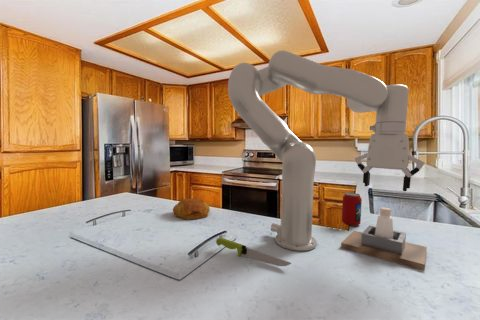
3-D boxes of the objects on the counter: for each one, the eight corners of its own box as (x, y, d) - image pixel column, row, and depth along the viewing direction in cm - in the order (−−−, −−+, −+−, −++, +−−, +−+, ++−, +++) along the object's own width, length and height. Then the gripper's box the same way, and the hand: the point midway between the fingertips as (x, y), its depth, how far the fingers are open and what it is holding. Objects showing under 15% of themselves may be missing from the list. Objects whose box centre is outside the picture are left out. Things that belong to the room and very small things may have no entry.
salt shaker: (398, 249, 69) (400, 211, 68) (379, 248, 69) (381, 210, 68) (387, 241, 74) (389, 206, 73) (369, 241, 74) (371, 205, 73)
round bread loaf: (174, 216, 108) (171, 199, 107) (208, 209, 112) (206, 193, 111) (174, 226, 94) (171, 206, 93) (213, 218, 98) (211, 199, 97)
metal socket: (361, 245, 71) (361, 233, 71) (368, 235, 78) (369, 225, 78) (401, 255, 65) (402, 242, 64) (405, 244, 72) (405, 232, 72)
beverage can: (362, 227, 91) (364, 196, 90) (343, 226, 92) (345, 195, 92) (357, 222, 98) (359, 192, 97) (340, 220, 99) (341, 191, 98)
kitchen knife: (291, 272, 59) (292, 261, 59) (289, 275, 58) (290, 263, 58) (217, 246, 70) (218, 236, 70) (215, 247, 69) (216, 237, 69)
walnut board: (341, 247, 73) (341, 242, 72) (353, 234, 83) (353, 230, 83) (424, 270, 60) (424, 264, 60) (426, 251, 71) (426, 246, 71)
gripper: (354, 128, 72) (350, 185, 73) (427, 128, 61) (421, 194, 62) (360, 130, 78) (356, 183, 79) (428, 130, 67) (422, 191, 68)
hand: (385, 188), depth 71 cm, fingers open, 9 cm apart
